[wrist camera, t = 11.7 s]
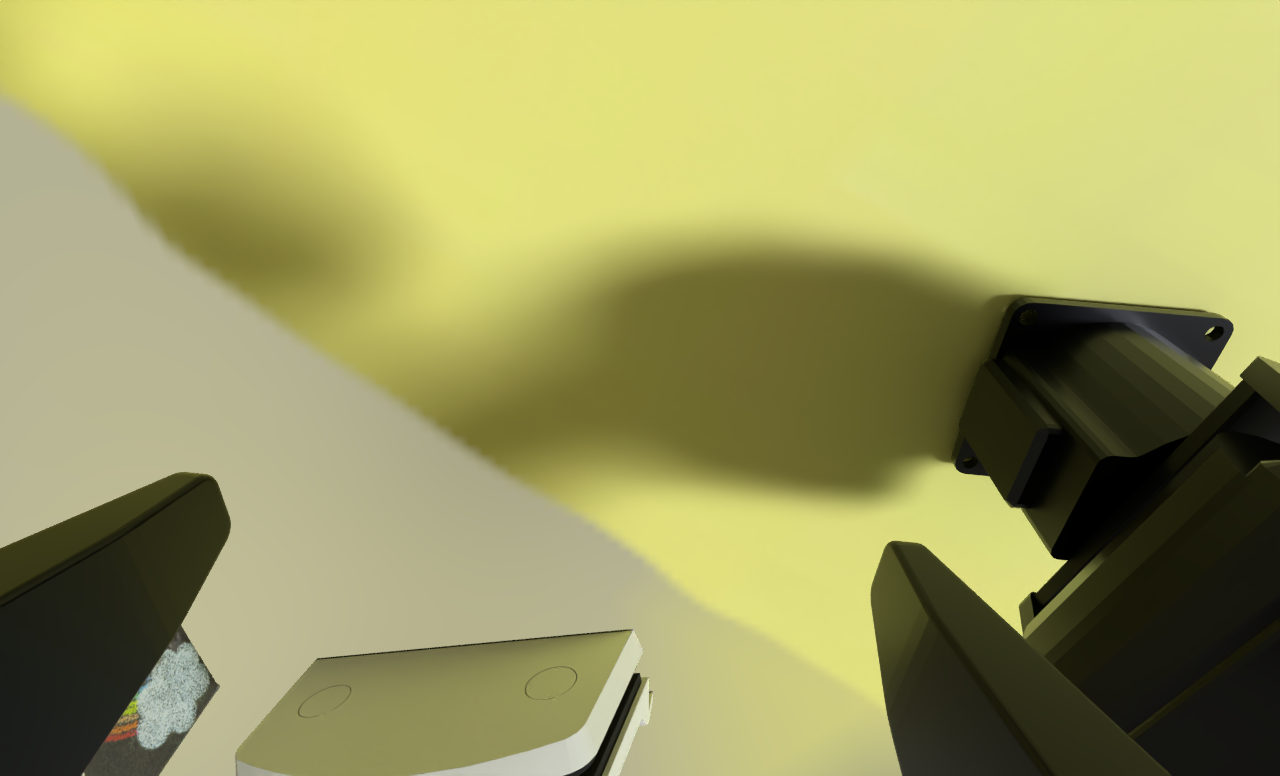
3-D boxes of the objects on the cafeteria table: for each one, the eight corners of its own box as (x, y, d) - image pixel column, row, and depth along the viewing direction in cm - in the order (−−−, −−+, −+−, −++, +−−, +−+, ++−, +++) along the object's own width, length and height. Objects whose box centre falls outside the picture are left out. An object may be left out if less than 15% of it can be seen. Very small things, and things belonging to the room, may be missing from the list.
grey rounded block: (355, 721, 34) (204, 902, 25) (331, 640, 34) (166, 794, 24) (661, 699, 31) (627, 894, 22) (643, 610, 31) (599, 771, 21)
